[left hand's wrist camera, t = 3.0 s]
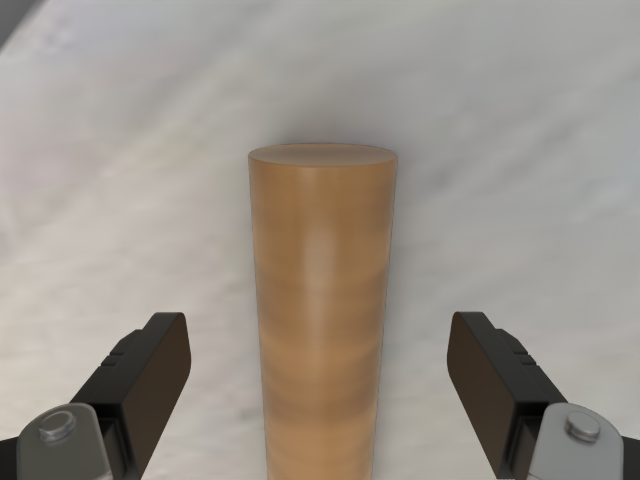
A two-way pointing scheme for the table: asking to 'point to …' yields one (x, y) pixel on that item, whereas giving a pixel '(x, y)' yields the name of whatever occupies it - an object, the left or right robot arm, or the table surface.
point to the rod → (321, 302)
